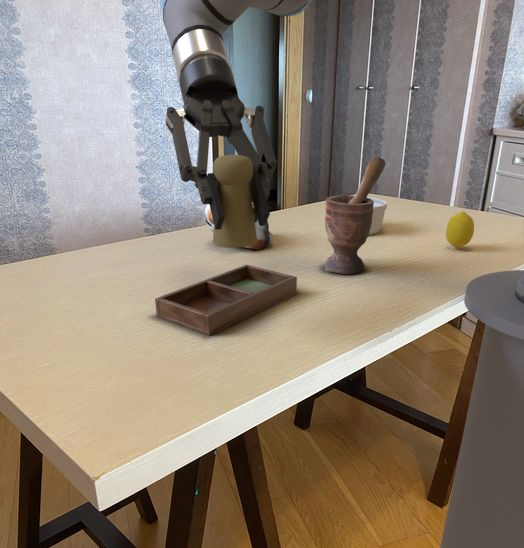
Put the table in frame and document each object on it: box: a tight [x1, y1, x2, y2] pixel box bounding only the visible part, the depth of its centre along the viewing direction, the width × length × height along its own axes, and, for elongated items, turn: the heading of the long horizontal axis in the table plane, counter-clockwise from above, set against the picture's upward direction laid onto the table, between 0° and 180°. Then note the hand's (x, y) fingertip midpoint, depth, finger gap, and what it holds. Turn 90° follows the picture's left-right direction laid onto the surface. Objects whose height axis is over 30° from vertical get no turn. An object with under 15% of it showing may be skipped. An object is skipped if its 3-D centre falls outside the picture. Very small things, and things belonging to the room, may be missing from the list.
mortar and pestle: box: [324, 156, 386, 275], centre depth 98 cm, size 12×9×20 cm
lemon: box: [445, 210, 475, 250], centre depth 112 cm, size 6×6×8 cm
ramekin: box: [366, 196, 388, 236], centre depth 127 cm, size 13×13×7 cm
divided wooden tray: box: [154, 264, 298, 337], centre depth 85 cm, size 11×21×3 cm, turn 142°
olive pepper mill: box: [211, 154, 257, 249], centre depth 69 cm, size 6×6×11 cm
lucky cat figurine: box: [204, 201, 274, 251], centre depth 114 cm, size 15×12×14 cm
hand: (242, 221), depth 67 cm, fingers closed on olive pepper mill, 5 cm apart
